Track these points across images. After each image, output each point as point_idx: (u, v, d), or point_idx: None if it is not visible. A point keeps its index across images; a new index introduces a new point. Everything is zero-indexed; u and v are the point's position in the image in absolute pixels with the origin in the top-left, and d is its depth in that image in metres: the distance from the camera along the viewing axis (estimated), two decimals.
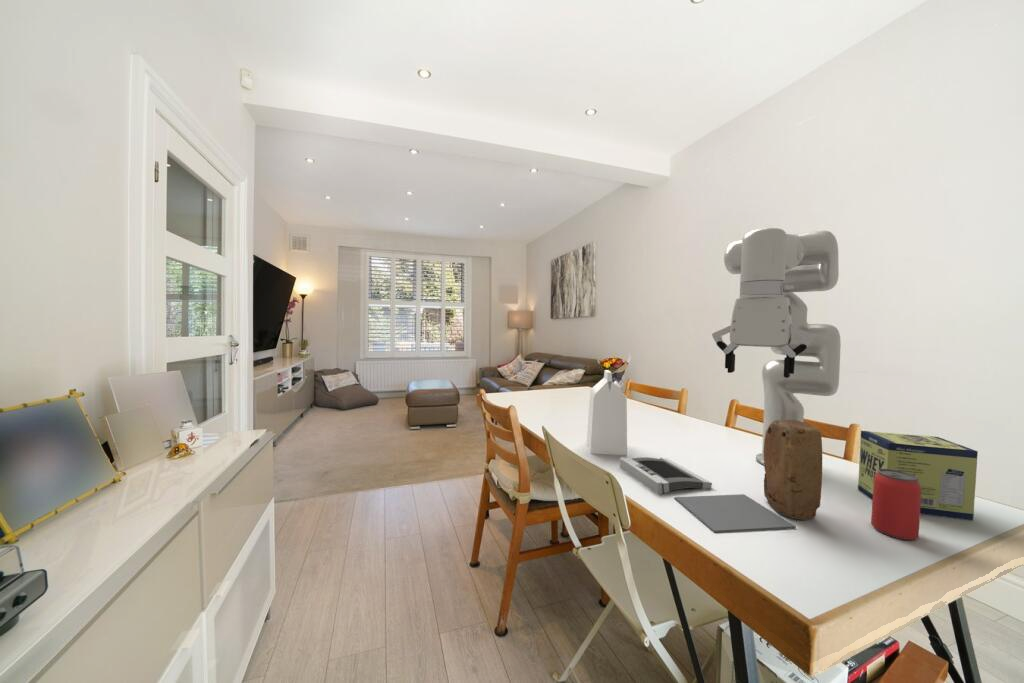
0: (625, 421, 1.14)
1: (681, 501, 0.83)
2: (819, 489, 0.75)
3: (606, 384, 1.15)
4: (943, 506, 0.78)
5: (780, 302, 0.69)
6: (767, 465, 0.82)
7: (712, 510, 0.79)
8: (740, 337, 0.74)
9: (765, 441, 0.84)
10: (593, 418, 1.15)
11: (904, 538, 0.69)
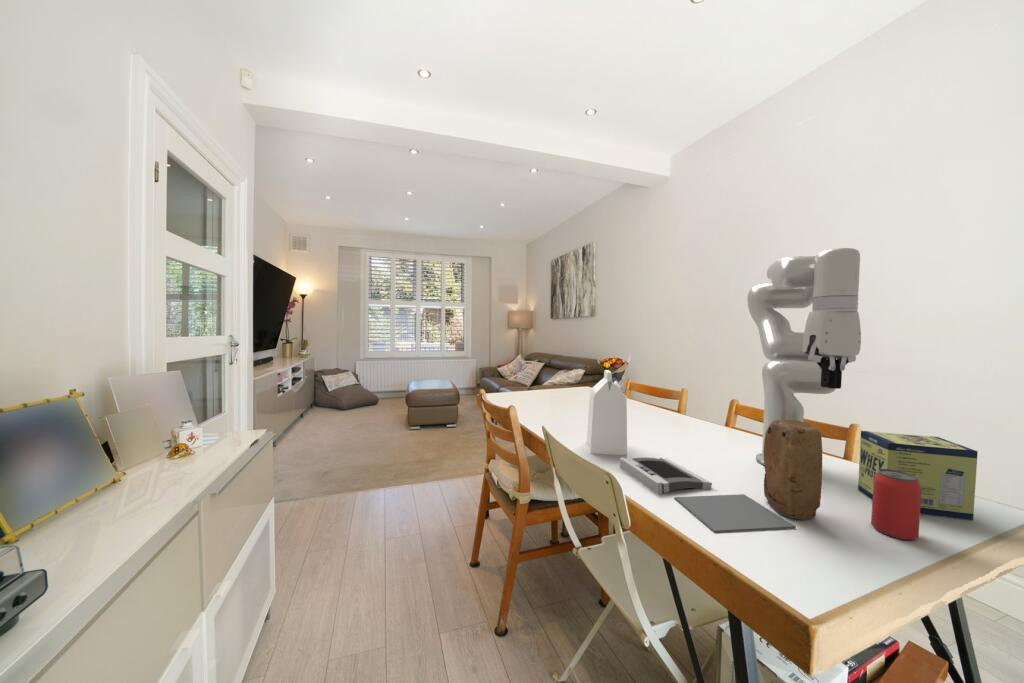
0: (625, 421, 1.14)
1: (681, 501, 0.83)
2: (819, 489, 0.75)
3: (606, 384, 1.15)
4: (943, 506, 0.78)
5: (857, 316, 0.78)
6: (767, 465, 0.82)
7: (712, 510, 0.79)
8: (829, 348, 0.77)
9: (765, 441, 0.84)
10: (593, 418, 1.15)
11: (904, 538, 0.69)
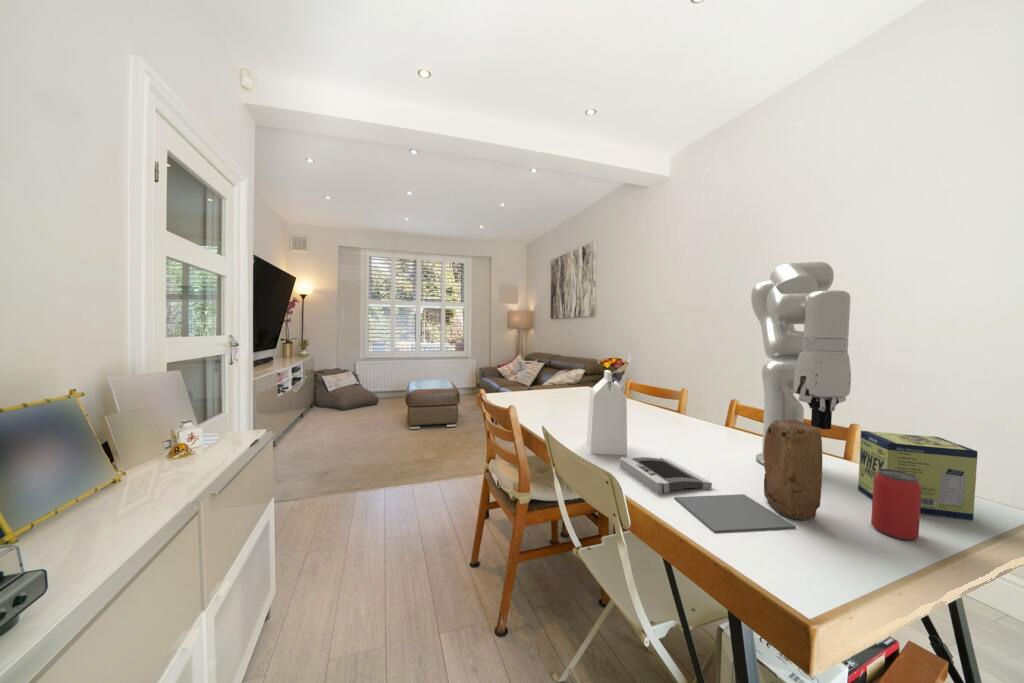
0: (625, 421, 1.14)
1: (681, 501, 0.83)
2: (819, 489, 0.75)
3: (606, 384, 1.15)
4: (943, 506, 0.78)
5: (847, 358, 0.78)
6: (767, 465, 0.82)
7: (712, 510, 0.79)
8: (819, 389, 0.78)
9: (765, 441, 0.84)
10: (593, 418, 1.15)
11: (904, 538, 0.69)
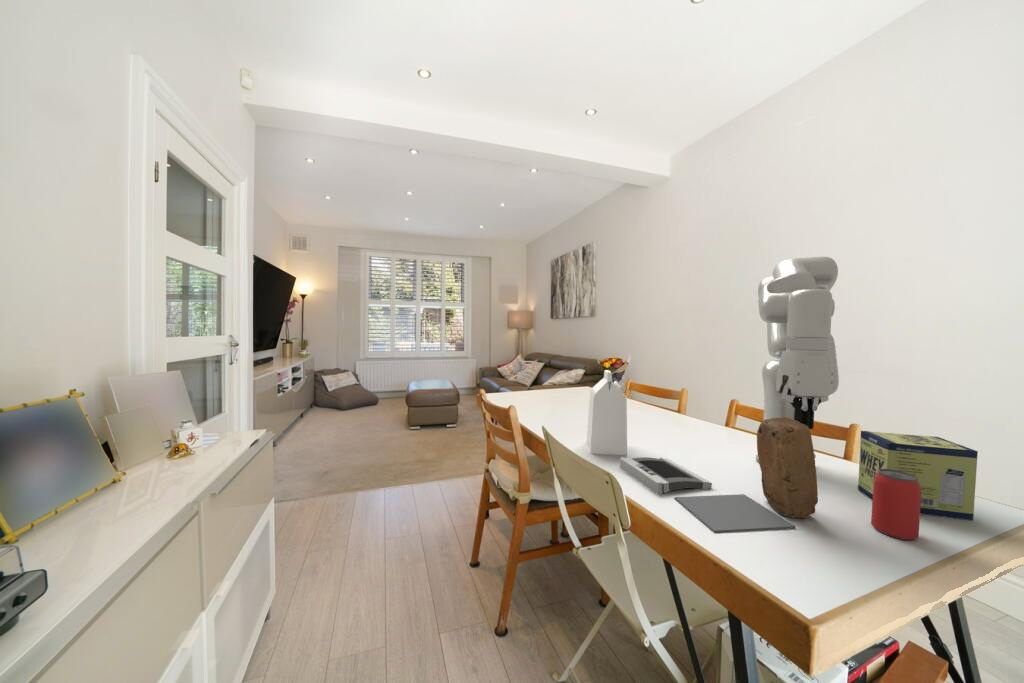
0: (625, 421, 1.14)
1: (681, 501, 0.83)
2: (815, 486, 0.75)
3: (606, 384, 1.15)
4: (943, 506, 0.78)
5: (830, 357, 0.78)
6: (762, 465, 0.82)
7: (712, 510, 0.79)
8: (802, 389, 0.77)
9: (757, 441, 0.84)
10: (593, 418, 1.15)
11: (904, 538, 0.69)
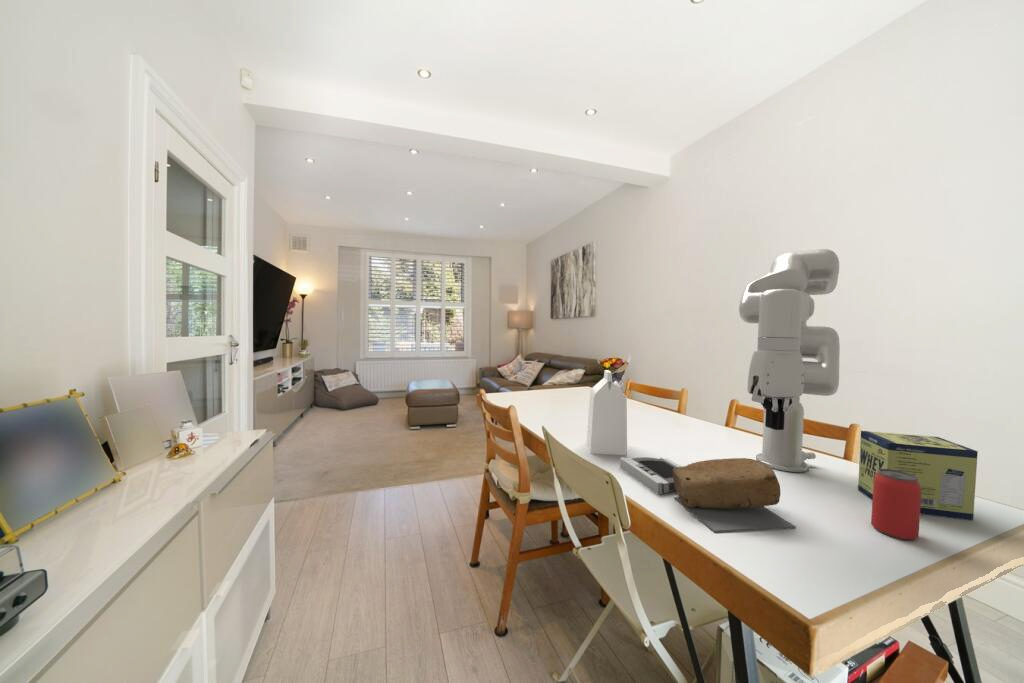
0: (625, 421, 1.14)
1: (681, 501, 0.83)
2: (744, 483, 0.76)
3: (606, 384, 1.15)
4: (943, 506, 0.78)
5: (800, 357, 0.77)
6: None
7: (712, 510, 0.79)
8: (771, 389, 0.77)
9: None
10: (593, 418, 1.15)
11: (904, 538, 0.69)
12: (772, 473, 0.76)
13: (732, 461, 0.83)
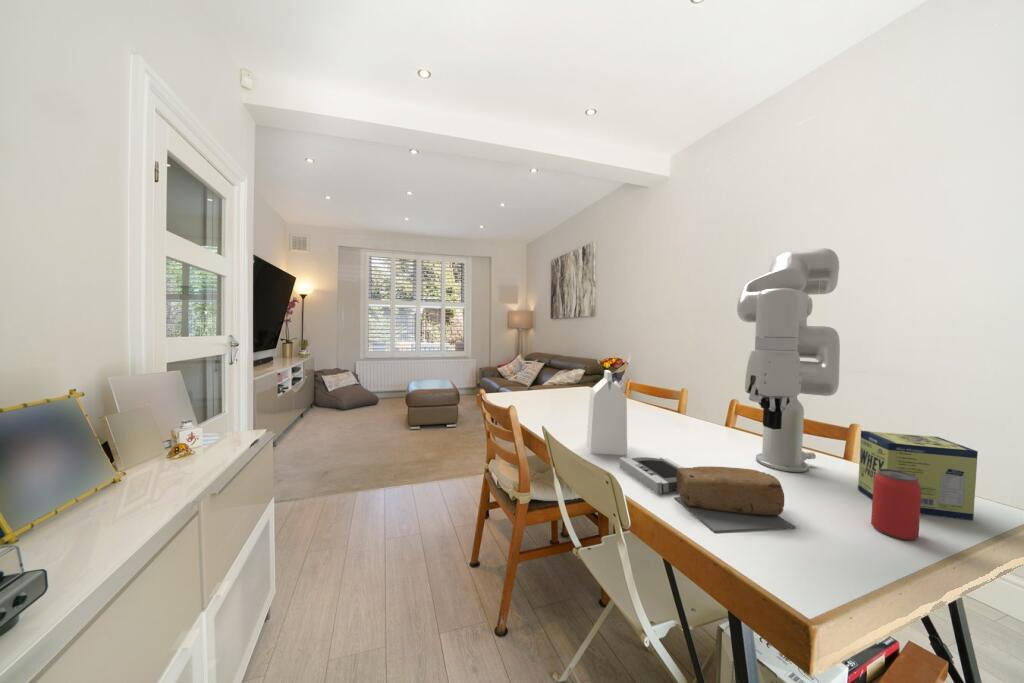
0: (625, 421, 1.14)
1: (681, 501, 0.83)
2: (748, 487, 0.76)
3: (606, 384, 1.15)
4: (943, 506, 0.78)
5: (797, 357, 0.77)
6: None
7: (712, 510, 0.79)
8: (769, 389, 0.77)
9: None
10: (593, 418, 1.15)
11: (904, 538, 0.69)
12: (777, 482, 0.77)
13: (738, 469, 0.84)
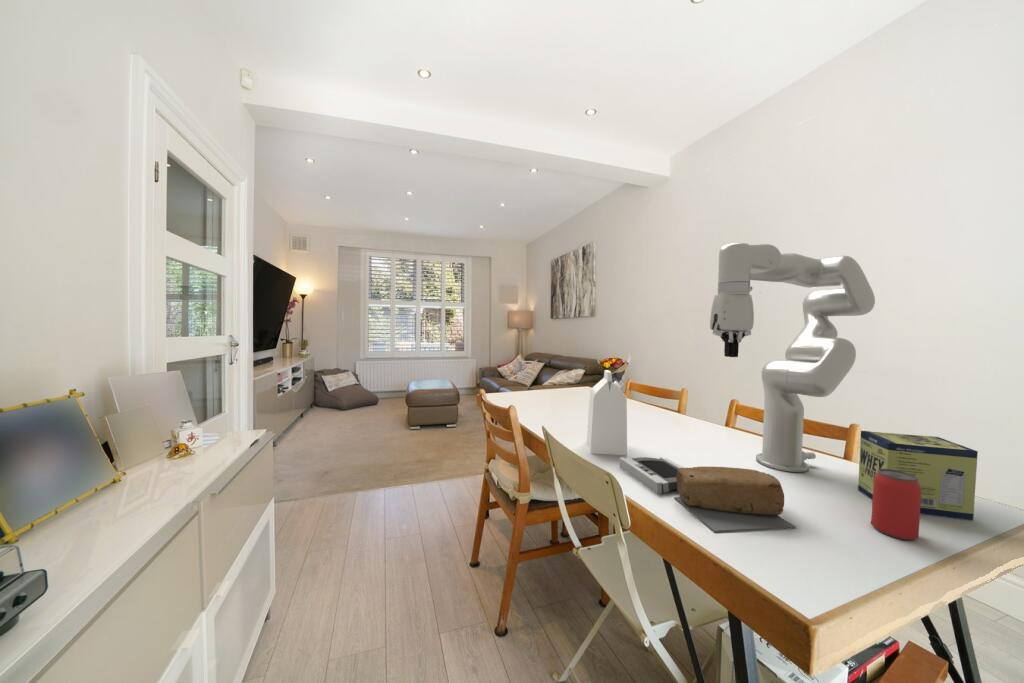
0: (625, 421, 1.14)
1: (681, 501, 0.83)
2: (748, 486, 0.76)
3: (606, 384, 1.15)
4: (943, 506, 0.78)
5: (750, 298, 0.96)
6: None
7: (712, 510, 0.79)
8: (727, 324, 0.96)
9: None
10: (593, 418, 1.15)
11: (904, 538, 0.69)
12: (777, 482, 0.77)
13: (738, 469, 0.84)
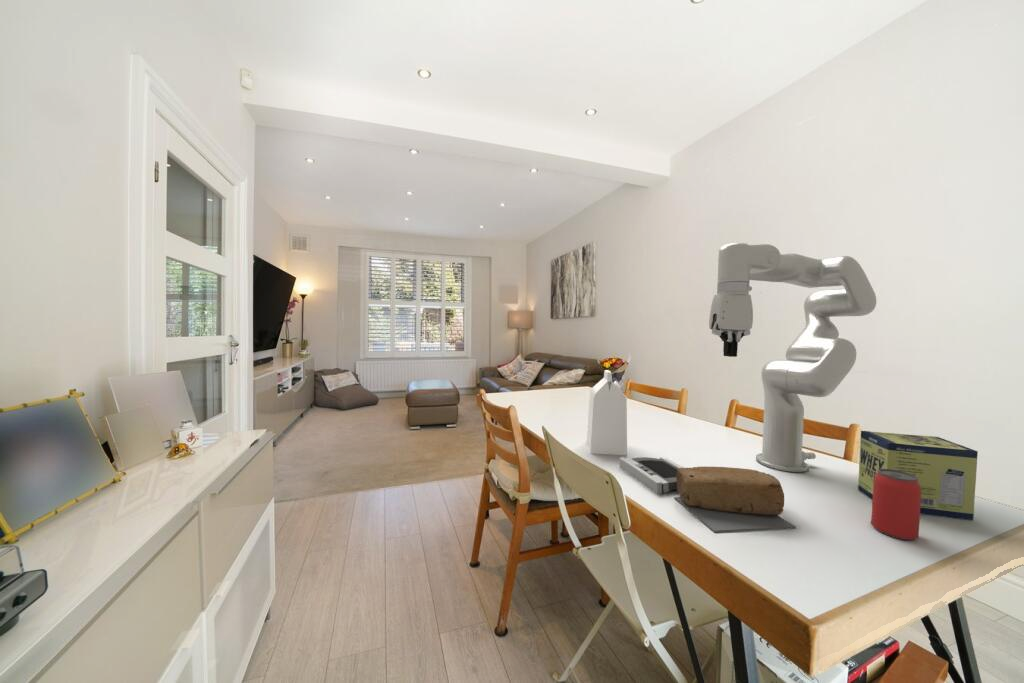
0: (625, 421, 1.14)
1: (681, 501, 0.83)
2: (748, 486, 0.76)
3: (606, 384, 1.15)
4: (943, 506, 0.78)
5: (749, 298, 0.97)
6: None
7: (712, 510, 0.79)
8: (726, 323, 0.96)
9: None
10: (593, 418, 1.15)
11: (904, 538, 0.69)
12: (777, 482, 0.77)
13: (738, 469, 0.84)
